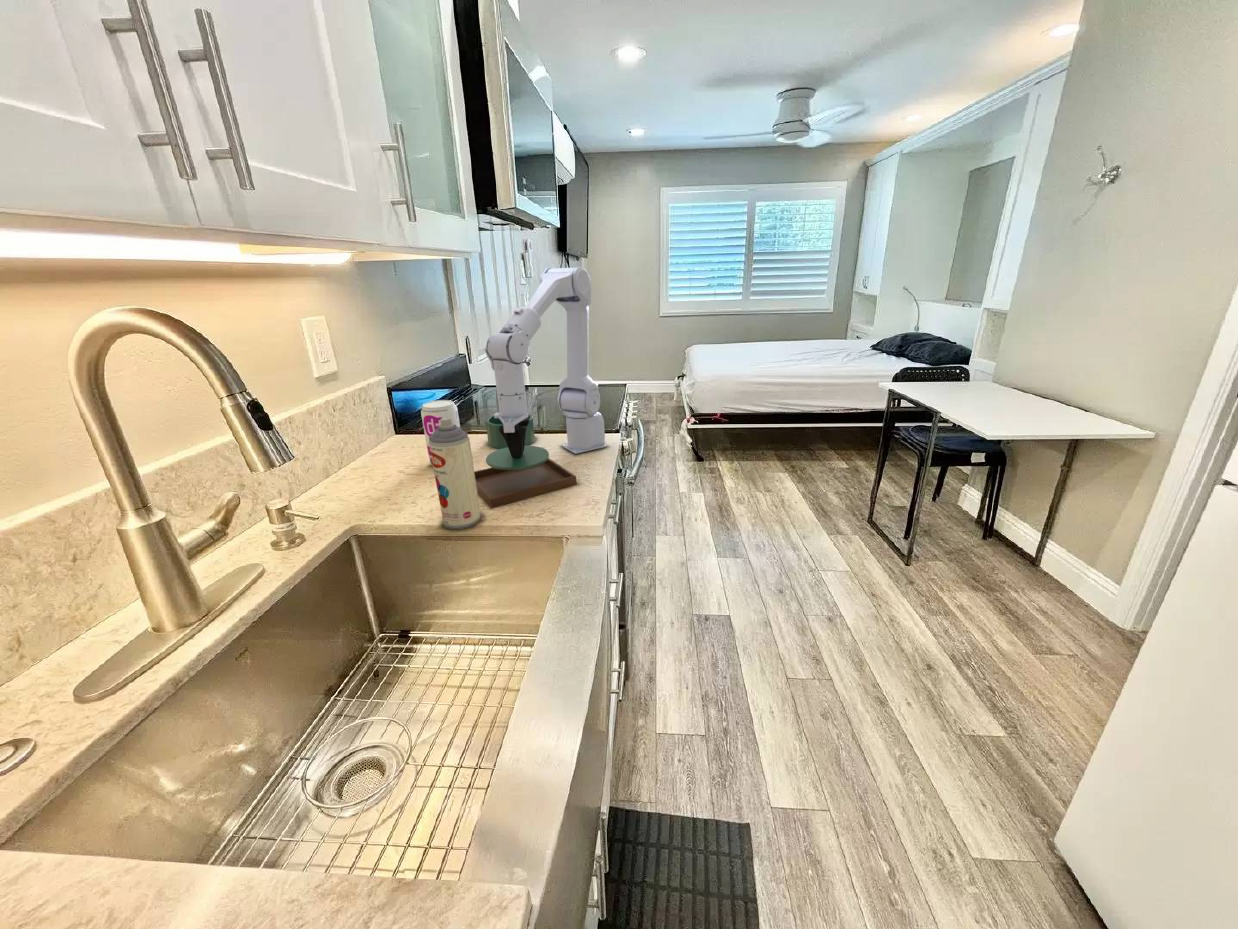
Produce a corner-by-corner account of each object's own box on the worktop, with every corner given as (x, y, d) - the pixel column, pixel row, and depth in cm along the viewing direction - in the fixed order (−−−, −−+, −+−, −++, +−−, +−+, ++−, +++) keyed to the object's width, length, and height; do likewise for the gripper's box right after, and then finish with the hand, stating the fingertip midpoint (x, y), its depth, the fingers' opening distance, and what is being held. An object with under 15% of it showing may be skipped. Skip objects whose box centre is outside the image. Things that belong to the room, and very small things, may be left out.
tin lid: (534, 446, 115) (532, 428, 113) (559, 463, 104) (558, 443, 103) (478, 458, 108) (475, 439, 107) (499, 478, 98) (497, 457, 96)
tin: (524, 431, 143) (521, 409, 140) (542, 442, 133) (540, 419, 131) (482, 439, 136) (479, 417, 134) (498, 452, 127) (495, 428, 124)
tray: (544, 462, 119) (544, 454, 119) (576, 484, 107) (576, 476, 106) (466, 481, 110) (465, 473, 109) (491, 507, 97) (490, 499, 96)
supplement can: (455, 470, 116) (445, 408, 110) (423, 468, 118) (412, 407, 112) (471, 457, 123) (462, 399, 118) (441, 456, 125) (431, 399, 119)
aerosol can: (438, 519, 93) (419, 418, 86) (472, 508, 97) (457, 411, 89) (450, 533, 88) (432, 427, 81) (486, 521, 92) (472, 419, 84)
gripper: (497, 385, 107) (504, 444, 112) (484, 402, 94) (493, 467, 99) (530, 384, 108) (535, 442, 113) (521, 400, 94) (528, 466, 99)
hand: (517, 454), depth 106 cm, fingers closed on tin lid, 2 cm apart
